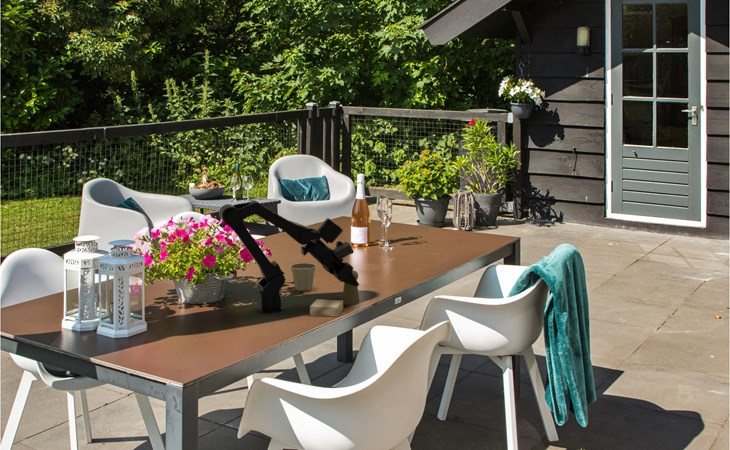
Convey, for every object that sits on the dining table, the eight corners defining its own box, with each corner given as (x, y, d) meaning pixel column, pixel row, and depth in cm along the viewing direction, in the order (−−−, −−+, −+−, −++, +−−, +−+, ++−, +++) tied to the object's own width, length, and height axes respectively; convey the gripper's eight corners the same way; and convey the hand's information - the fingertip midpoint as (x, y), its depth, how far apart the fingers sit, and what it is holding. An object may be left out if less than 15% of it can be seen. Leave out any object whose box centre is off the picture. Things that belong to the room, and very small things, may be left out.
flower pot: (316, 292, 337) (315, 268, 336) (289, 292, 338) (288, 268, 336) (317, 286, 347) (317, 262, 345) (291, 286, 347) (291, 263, 345)
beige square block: (310, 315, 308) (310, 306, 308) (316, 308, 317) (316, 299, 316) (337, 316, 307) (337, 307, 306) (343, 309, 315) (343, 300, 315)
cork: (349, 299, 328) (349, 267, 326) (363, 301, 324) (363, 270, 322) (338, 302, 323) (337, 271, 321) (352, 305, 320) (351, 273, 318)
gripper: (346, 240, 310) (379, 270, 315) (330, 230, 327) (361, 259, 333) (324, 266, 309) (356, 296, 314) (309, 254, 326) (340, 283, 332)
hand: (354, 282), depth 323 cm, fingers open, 8 cm apart
